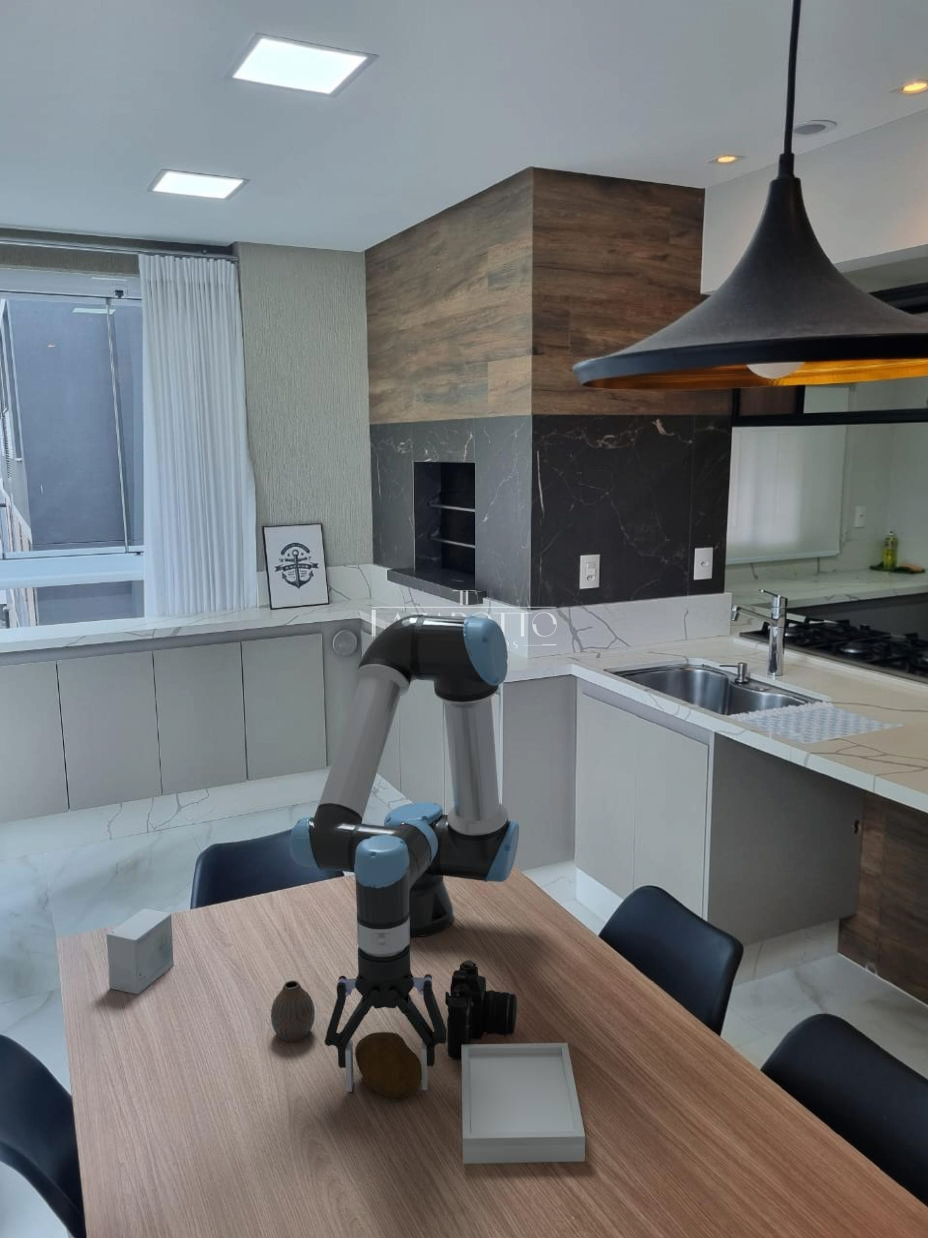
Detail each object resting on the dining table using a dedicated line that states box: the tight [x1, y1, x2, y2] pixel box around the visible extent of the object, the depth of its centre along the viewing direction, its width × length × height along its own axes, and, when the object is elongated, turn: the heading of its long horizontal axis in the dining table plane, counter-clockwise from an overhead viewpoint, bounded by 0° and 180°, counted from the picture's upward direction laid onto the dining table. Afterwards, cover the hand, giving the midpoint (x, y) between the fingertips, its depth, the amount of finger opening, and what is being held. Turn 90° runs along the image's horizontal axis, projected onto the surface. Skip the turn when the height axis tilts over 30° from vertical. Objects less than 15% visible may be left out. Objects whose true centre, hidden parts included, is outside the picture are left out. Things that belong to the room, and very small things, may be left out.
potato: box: [354, 1031, 422, 1099], centre depth 139 cm, size 8×12×8 cm, turn 53°
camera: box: [444, 959, 518, 1061], centre depth 151 cm, size 14×11×10 cm
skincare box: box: [106, 908, 175, 995], centre depth 169 cm, size 10×6×10 cm, turn 161°
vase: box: [270, 980, 316, 1043], centre depth 152 cm, size 7×7×9 cm
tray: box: [461, 1042, 586, 1165], centre depth 134 cm, size 20×16×4 cm
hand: (387, 1085), depth 140 cm, fingers open, 10 cm apart
